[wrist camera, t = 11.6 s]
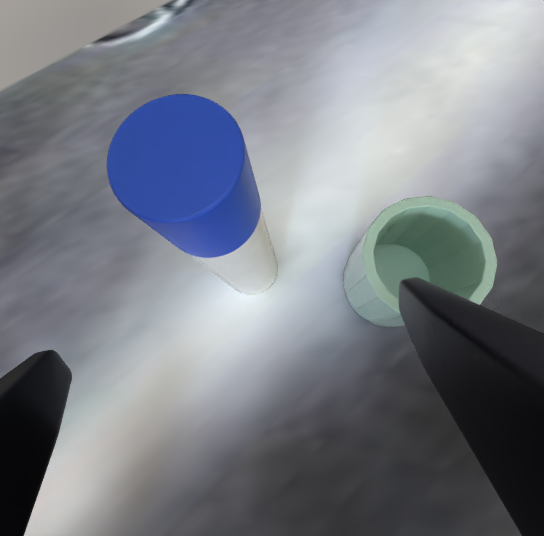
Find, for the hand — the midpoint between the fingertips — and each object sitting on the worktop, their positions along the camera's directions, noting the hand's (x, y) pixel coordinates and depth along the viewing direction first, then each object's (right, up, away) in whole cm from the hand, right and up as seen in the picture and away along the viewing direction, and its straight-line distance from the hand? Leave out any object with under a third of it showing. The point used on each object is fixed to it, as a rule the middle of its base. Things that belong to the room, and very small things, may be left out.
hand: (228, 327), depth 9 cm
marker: (0, +1, +9) cm, 9 cm away
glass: (+7, +1, +9) cm, 11 cm away
